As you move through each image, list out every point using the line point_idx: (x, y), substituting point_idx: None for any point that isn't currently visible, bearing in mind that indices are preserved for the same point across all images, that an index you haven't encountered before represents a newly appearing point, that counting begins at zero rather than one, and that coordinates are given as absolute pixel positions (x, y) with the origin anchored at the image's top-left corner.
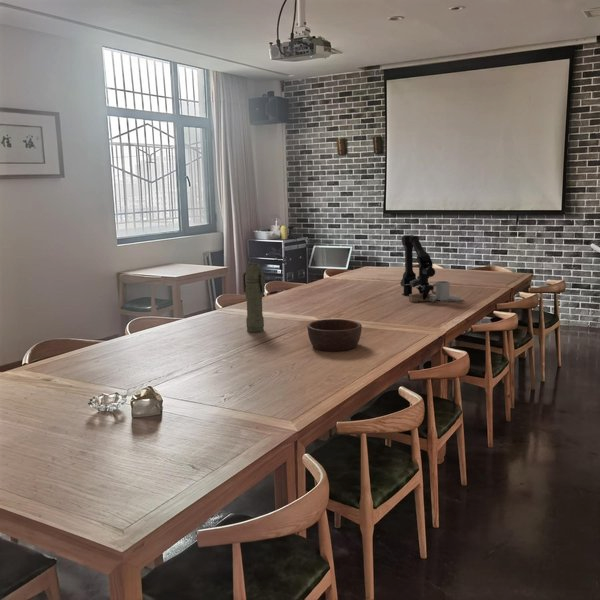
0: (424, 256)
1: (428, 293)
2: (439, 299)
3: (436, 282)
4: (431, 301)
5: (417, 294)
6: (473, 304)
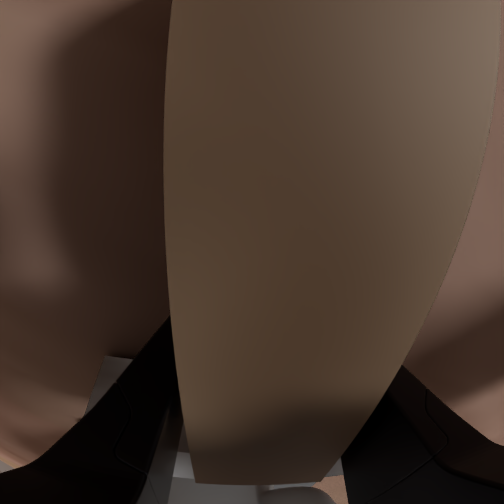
0: None
1: (214, 483)
2: None
3: None
4: (112, 359)
5: (231, 228)
6: (13, 456)
